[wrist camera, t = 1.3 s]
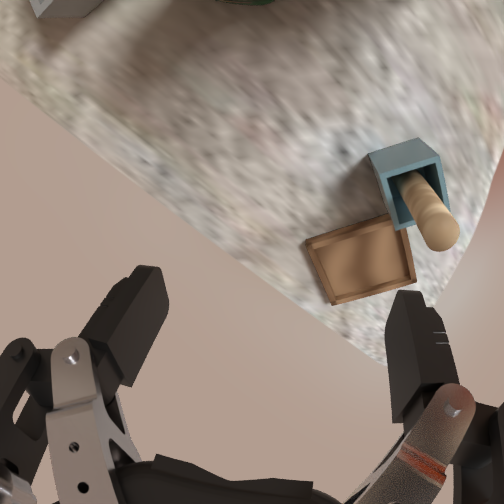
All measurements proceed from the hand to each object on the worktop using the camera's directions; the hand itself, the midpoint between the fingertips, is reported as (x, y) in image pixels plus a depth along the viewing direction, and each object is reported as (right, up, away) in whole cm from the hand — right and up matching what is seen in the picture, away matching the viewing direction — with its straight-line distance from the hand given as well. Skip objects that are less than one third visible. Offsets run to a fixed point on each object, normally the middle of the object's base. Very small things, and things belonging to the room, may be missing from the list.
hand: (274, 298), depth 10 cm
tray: (+14, +1, +31) cm, 34 cm away
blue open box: (+17, +11, +23) cm, 31 cm away
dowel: (+17, +11, +23) cm, 30 cm away
